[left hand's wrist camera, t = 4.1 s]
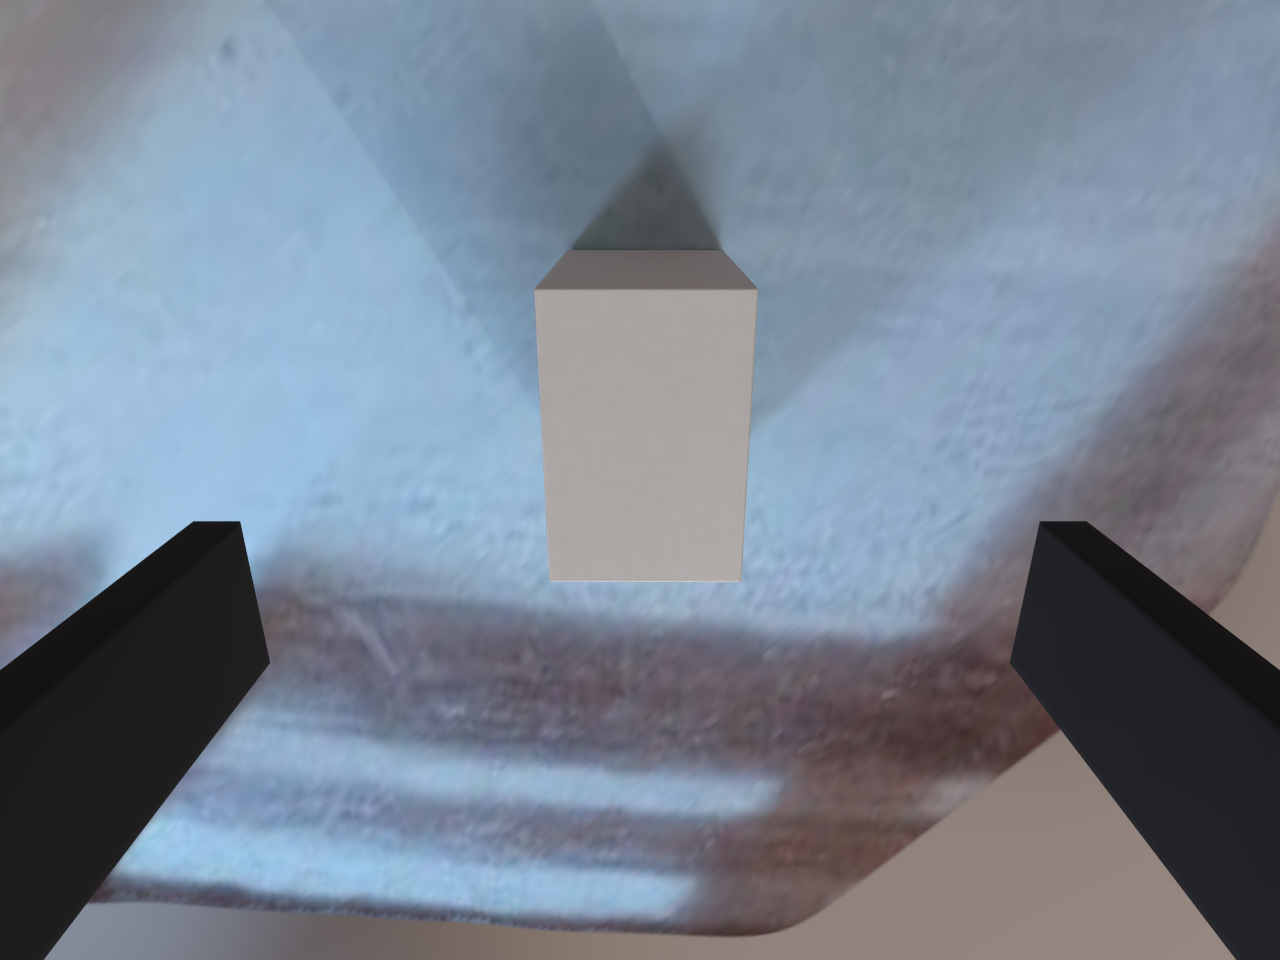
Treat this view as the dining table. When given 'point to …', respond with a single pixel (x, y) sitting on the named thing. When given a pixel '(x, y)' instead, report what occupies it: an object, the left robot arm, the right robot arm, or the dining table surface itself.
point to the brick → (645, 414)
